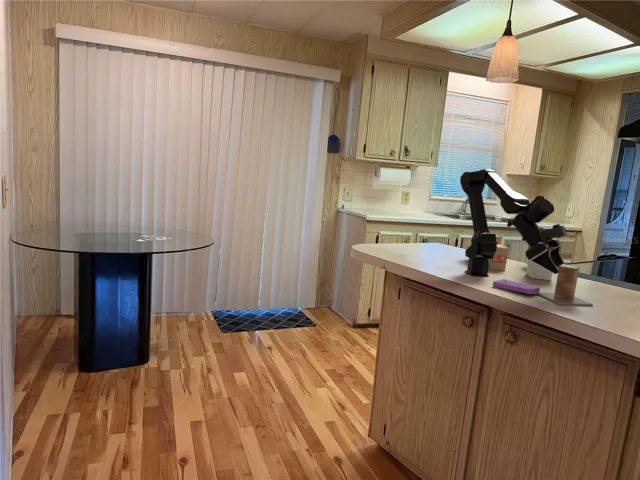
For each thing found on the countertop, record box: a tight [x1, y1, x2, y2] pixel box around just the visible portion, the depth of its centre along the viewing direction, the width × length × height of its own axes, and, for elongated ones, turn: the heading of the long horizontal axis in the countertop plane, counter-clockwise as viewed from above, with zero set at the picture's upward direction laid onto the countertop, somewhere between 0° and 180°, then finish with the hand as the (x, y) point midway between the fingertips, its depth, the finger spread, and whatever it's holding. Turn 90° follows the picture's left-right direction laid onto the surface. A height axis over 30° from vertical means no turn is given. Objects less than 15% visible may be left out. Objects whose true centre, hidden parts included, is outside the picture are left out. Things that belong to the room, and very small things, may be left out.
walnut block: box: [554, 263, 580, 301], centre depth 135 cm, size 4×4×10 cm
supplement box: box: [525, 247, 553, 281], centre depth 166 cm, size 7×7×13 cm
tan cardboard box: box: [488, 235, 510, 271], centre depth 184 cm, size 21×6×12 cm, turn 1°
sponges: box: [492, 278, 541, 295], centre depth 144 cm, size 7×13×2 cm, turn 39°
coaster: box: [535, 291, 594, 307], centre depth 136 cm, size 11×11×1 cm
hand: (561, 271), depth 136 cm, fingers open, 9 cm apart
